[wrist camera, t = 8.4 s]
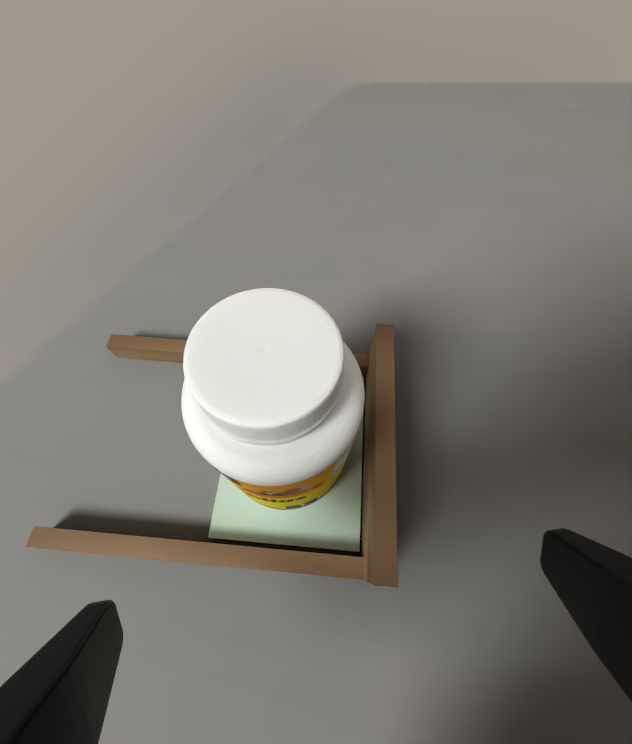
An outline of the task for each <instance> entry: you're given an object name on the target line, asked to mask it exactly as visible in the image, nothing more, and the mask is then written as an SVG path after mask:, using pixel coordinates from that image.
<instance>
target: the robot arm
mask: <svg viewBox="0 0 632 744" xmlns="http://www.w3.org/2000/svg"><path fill="white" fill-rule="evenodd" d="M540 562H541V567H542V570H543V572H544V574H545V576H546V577H547V579H548V580H549V582H550V583H551V585H552V587H553V588H554V590H555V591H556V593H557V594H558V596H559V598H560V599H561V601H562V602H563V604H564V606H565V607H566V609H567V610H568V612H569V613H570V615H571V617H572V618H573V620H574V621H575V623H576V624H577V626H578V628H579V629H580V631H581V632H582V634H583V635H584V637H585V639H586V640H587V642H588V643H589V644H590V646H591V647H592V649H593V650H594V652H595V653H596V655H597V656H598V657H599V659H600V660H601V662H602V663H603V664H604V666H605V667H606V668H607V670H608V671H609V672H610V674H611V675H612V676H613V678H614V679H615V680H616V682H617V683H618V684H619V686H620V687H621V688H622V690H623V691H624V692H625V694H626V695H627V696H628V698H629V699H630V701H631V702H632V558H631V557H628V556H626V555H624V554H622V553H620V552H617V551H615V550H613V549H611V548H608V547H606V546H604V545H602V544H599V543H597V542H595V541H593V540H591V539H588V538H586V537H584V536H582V535H579V534H577V533H575V532H573V531H570V530H568V529H565V528H560V529H553V530H548V531H546V532H545V533H544V536H543V543H542V550H541V558H540ZM122 644H123V630H122V626H121V623H120V619H119V616H118V612H117V609H116V605H115V603H114V602H113V601H112V600H105V601H99V602H92V603H90V604H88V605H87V606H85V607H84V608H83V609H82V610H81V611H80V612H79V613H78V614H77V615H76V616H75V617H74V618H73V619H72V620H70V621H69V622H68V623H67V624H66V625H65V626H64V627H63V628H62V629H61V630H60V631H59V632H58V633H57V634H56V635H55V636H54V637H52V638H51V639H50V640H49V641H48V642H47V643H46V644H45V645H44V646H43V647H42V648H41V649H40V650H39V651H38V652H37V653H36V654H35V655H33V656H32V657H31V658H30V659H29V660H28V661H27V662H26V663H25V664H24V665H23V666H22V667H21V668H20V669H19V670H18V671H17V672H15V673H14V674H13V675H12V676H11V677H10V678H9V679H8V680H7V681H6V682H5V683H4V684H3V685H2V686H1V687H0V744H98V742H99V738H100V734H101V730H102V726H103V722H104V718H105V714H106V710H107V706H108V702H109V698H110V694H111V689H112V685H113V681H114V677H115V673H116V669H117V665H118V661H119V657H120V653H121V648H122Z"/></svg>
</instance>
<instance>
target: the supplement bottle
mask: <svg viewBox="0 0 632 744" xmlns="http://www.w3.org/2000/svg"><path fill="white" fill-rule="evenodd" d="M183 368H184V375H185V380H184V384H183V389H182V415H183V420H184V424H185V428H186V430H187V433H188V435H189V437H190V439H191V441H192V442H193V444H194V446H195V447H196V449H197V450H198V451H199V452H200V454H201V455H202V456H203V457H204V458H205V459H206V460H207V461H208V462H209V463H210V464H211V465H212V466H213V467H214V468H215V469H216V470H218V471H219V472H220V473H221V474H222V475H224V476H225V477H226V478H227V479H228V480H229V481H230V482H232V483H233V484H234V485H235V486H237V487H238V488H239V489H240V490H241V491H242V492H243V493H245V494H246V495H247V496H248V497H250V498H251V499H252V500H254V501H255V502H257V503H259V504H261V505H263V506H266V507H269V508H273V509H278V510H292V509H298V508H302V507H305V506H308V505H310V504H312V503H314V502H316V501H318V500H319V499H321V498H322V497H323V496H324V495H325V494H327V493H328V492H329V490H330V489H331V488H332V487H333V486H334V484H335V483H336V481H337V480H338V478H339V476H340V474H341V472H342V469H343V466H344V464H345V461H346V459H347V456H348V454H349V452H350V449H351V446H352V443H353V441H354V438H355V436H356V433H357V431H358V428H359V425H360V422H361V418H362V414H363V409H364V400H365V391H364V383H363V378H362V374H361V370H360V368H359V365H358V363H357V361H356V359H355V357H354V355H353V354H352V352H351V351H350V349H349V348H348V346H347V345H346V344H345V343H344V342H343V340H342V336H341V333H340V331H339V328H338V326H337V325H336V323H335V321H334V320H333V319H332V317H331V316H330V315H329V314H328V312H327V311H326V310H325V309H324V308H323V307H321V306H320V305H319V304H317V303H316V302H315V301H313V300H311V299H310V298H308V297H306V296H304V295H301V294H299V293H296V292H292V291H289V290H284V289H278V288H260V289H253V290H248V291H244V292H240V293H237V294H235V295H232V296H230V297H228V298H225V299H224V300H222V301H220V302H219V303H217V304H216V305H214V306H213V307H211V308H210V309H209V310H208V311H207V312H206V313H205V314H204V315H203V316H202V317H201V318H200V319H199V321H198V322H197V323H196V325H195V326H194V328H193V329H192V331H191V333H190V335H189V337H188V339H187V342H186V346H185V350H184V358H183Z"/></svg>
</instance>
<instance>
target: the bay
mask: <svg viewBox="0 0 632 744" xmlns="http://www.w3.org/2000/svg"><path fill="white" fill-rule="evenodd" d="M186 342H187V340H181V339H168V338H155V337H141V336H128V335H115V334H111V336H110V339H109V341H108V344H107V346H106V347H107V348H108V349H109V350H110V351H111V352H112V353H113V354H114V355H115V356H116V357H119V358H132V359H144V360H157V361H170V362H183V358H184V350H185V346H186ZM352 354H353V355H354V357H355V359H356V361H357V363H358V365H359V368H360V370H361V374H362V376H363V377H362V378H363V383H364V377H365V415H364V454H363V494H362V534H361V557H355V556H344V555H334V554H323V553H313V552H302V551H292V550H281V549H270V548H260V547H249V546H239V545H228V544H218V543H207V542H196V541H186V540H175V539H165V538H154V537H144V536H133V535H122V534H112V533H101V532H91V531H80V530H70V529H59V528H48V527H38V526H34V528H33V531H32V533H31V535H30V538H29V540H28V543H27V545H26V547H33V548H44V549H54V550H64V551H75V552H85V553H95V554H106V555H116V556H126V557H137V558H147V559H157V560H168V561H178V562H189V563H199V564H209V565H220V566H230V567H240V568H251V569H261V570H271V571H282V572H292V573H302V574H313V575H323V576H333V577H344V578H354V579H364V580H366V581H368V582H369V583H371V584H373V585H378V586H388V587H398V564H397V499H396V433H395V368H394V326H393V325H380V324H377V325H376V329H375V332H374V336H373V340H372V343H371V347H370V351H369V354H366V353H353V352H352ZM362 443H363V414H362V418H361V422H360V425H359V428H358V431H357V433H356V436H355V438H354V441H353V443H352V446H351V449H350V452H349V454H348V456H347V459H346V461H345V464H344V466H343V469H342V472H341V474H340V476H339V478H338V480H337V481H336V483H335V484H334V486H333V487H332V488H331V489H330V490H329V492H328V493H327V494H325V495H324V496H323V497H322V498H321V499H319V500H318V501H316V502H314V503H312V504H310V505H308V506H305V507H302V508H298V509H292V510H278V509H273V508H269V507H266V506H263V505H261V504H259V503H257V502H255V501H254V500H252V499H251V498H250V497H248V496H247V495H246V494H245V493H243V492H242V491H241V490H240V489H239V488H238V487H237V486H235V485H234V484H233V483H232V482H230V481H229V480H228V479H227V478H226V477H225V476H224V475H222V474H221V475H220V480H219V485H218V490H217V495H216V500H215V505H214V510H213V515H212V520H211V525H210V530H209V535H208V538H217V539H227V540H238V541H249V542H259V543H270V544H281V545H291V546H302V547H312V548H323V549H334V550H344V551H355V552H360V517H361V480H362Z"/></svg>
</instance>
